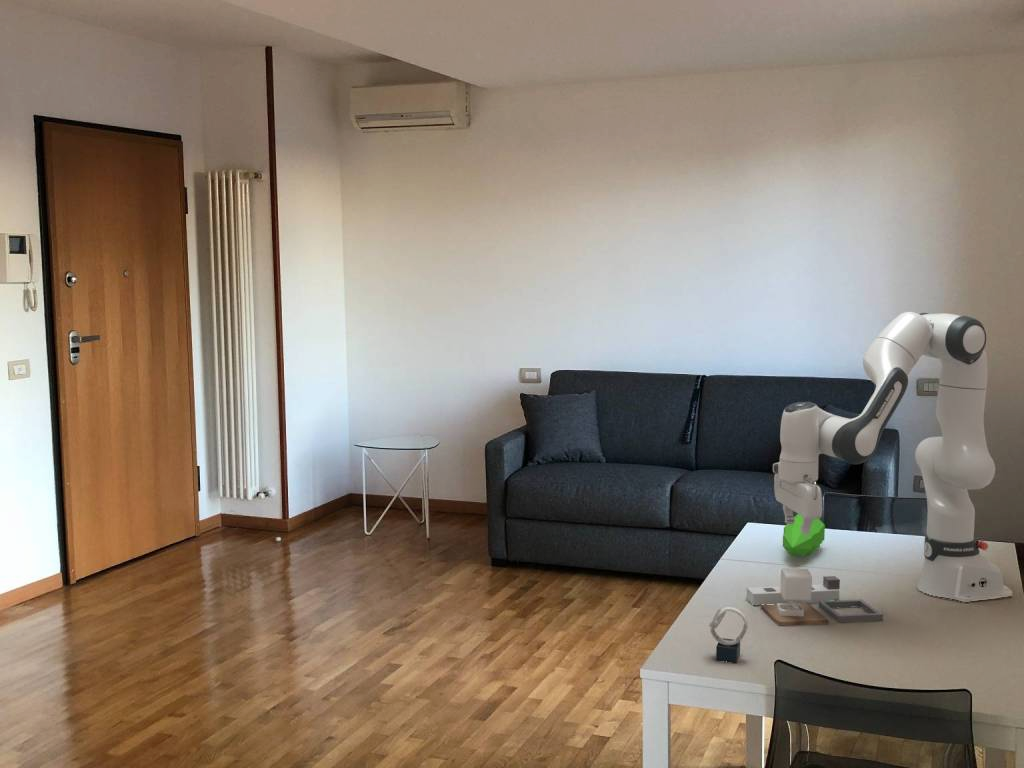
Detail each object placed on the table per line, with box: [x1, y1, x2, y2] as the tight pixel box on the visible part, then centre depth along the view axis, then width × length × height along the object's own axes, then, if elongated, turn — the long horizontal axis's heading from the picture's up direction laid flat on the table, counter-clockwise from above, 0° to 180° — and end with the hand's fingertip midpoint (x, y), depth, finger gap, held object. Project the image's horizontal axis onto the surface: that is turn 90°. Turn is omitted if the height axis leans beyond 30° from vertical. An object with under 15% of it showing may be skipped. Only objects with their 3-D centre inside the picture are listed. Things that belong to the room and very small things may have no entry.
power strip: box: [745, 575, 841, 606], centre depth 262 cm, size 22×8×5 cm, turn 97°
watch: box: [709, 605, 749, 664], centre depth 227 cm, size 6×8×11 cm
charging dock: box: [818, 599, 884, 623], centre depth 254 cm, size 11×11×2 cm
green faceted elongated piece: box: [782, 513, 826, 558], centre depth 303 cm, size 11×12×30 cm
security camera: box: [777, 567, 813, 616], centre depth 252 cm, size 6×7×10 cm
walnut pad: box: [760, 603, 830, 627], centre depth 253 cm, size 12×12×1 cm
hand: (797, 528), depth 251 cm, fingers open, 8 cm apart
